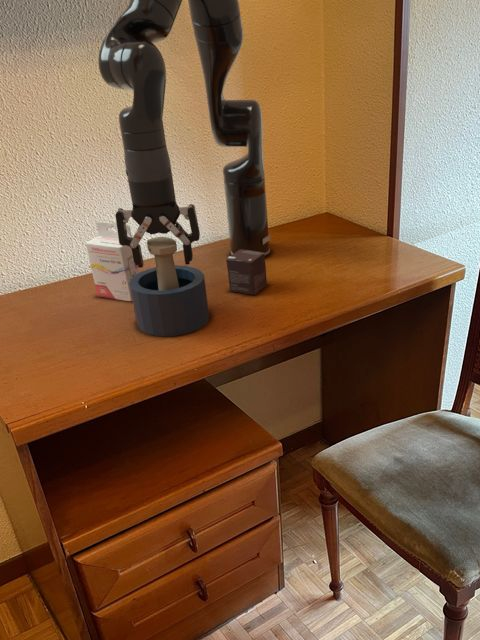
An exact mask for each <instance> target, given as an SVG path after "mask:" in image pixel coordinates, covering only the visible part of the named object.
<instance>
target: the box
mask: <svg viewBox="0 0 480 640" xmlns="http://www.w3.org/2000/svg"><path fill="white" fill-rule="evenodd" d="M225 260H226V261H225V262H226V269H227V277H228V285H229V291H230V292H233V293H240V294H247V295H253V296H254V295H256V294H258V293H259V292H260V291H261V290H262V289H264V288H265V287H266V286H267V285H268V280H267V279H268V277H267V268H266V256H265V253H264V252H256V251H250V250H243V249H240V250H238V251H237V252H236V253H234V254H233V255H231V254H230V256H228V257H227V258H226V259H225Z"/></svg>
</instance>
